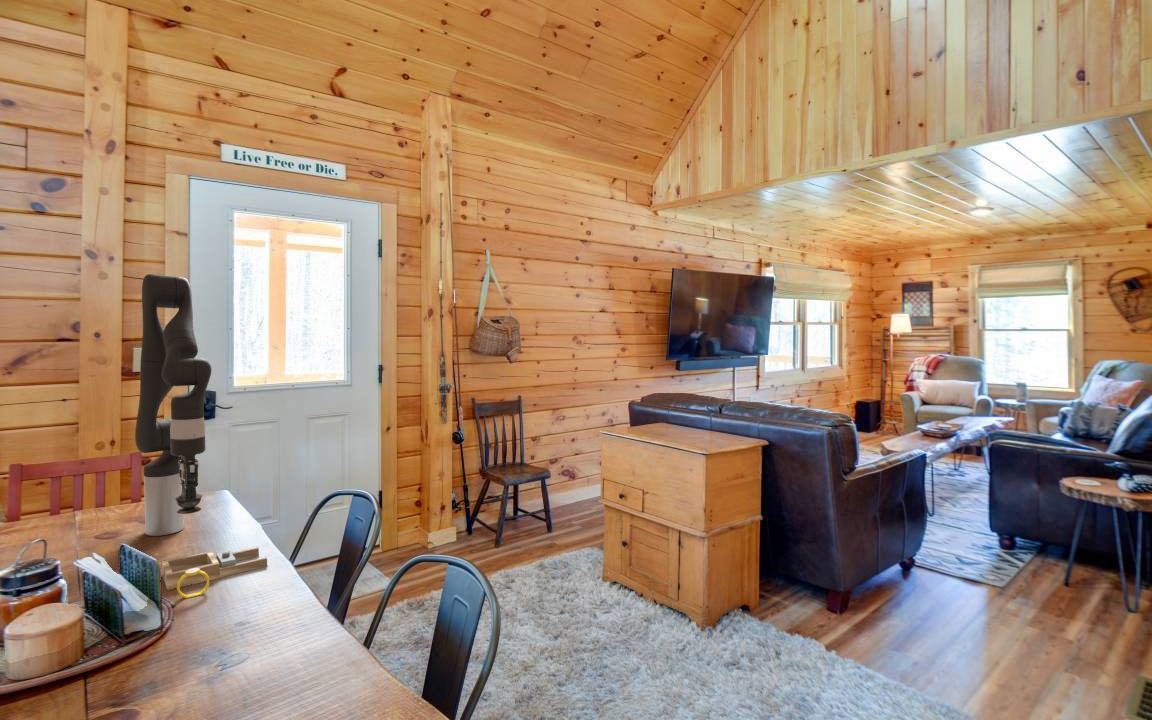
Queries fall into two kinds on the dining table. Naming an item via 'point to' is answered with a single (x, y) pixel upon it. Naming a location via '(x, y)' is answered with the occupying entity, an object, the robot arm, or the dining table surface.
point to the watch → (191, 573)
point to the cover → (226, 559)
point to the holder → (207, 567)
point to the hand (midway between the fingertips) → (188, 498)
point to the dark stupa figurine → (186, 506)
